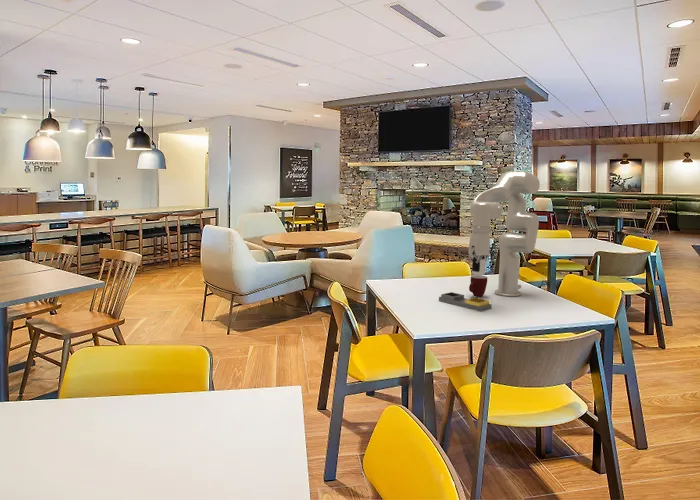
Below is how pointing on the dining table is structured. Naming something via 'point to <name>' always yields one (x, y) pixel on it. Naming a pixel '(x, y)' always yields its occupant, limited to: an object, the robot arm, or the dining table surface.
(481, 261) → the knobbed metal block
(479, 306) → the grey flat elongated piece
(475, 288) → the mug
